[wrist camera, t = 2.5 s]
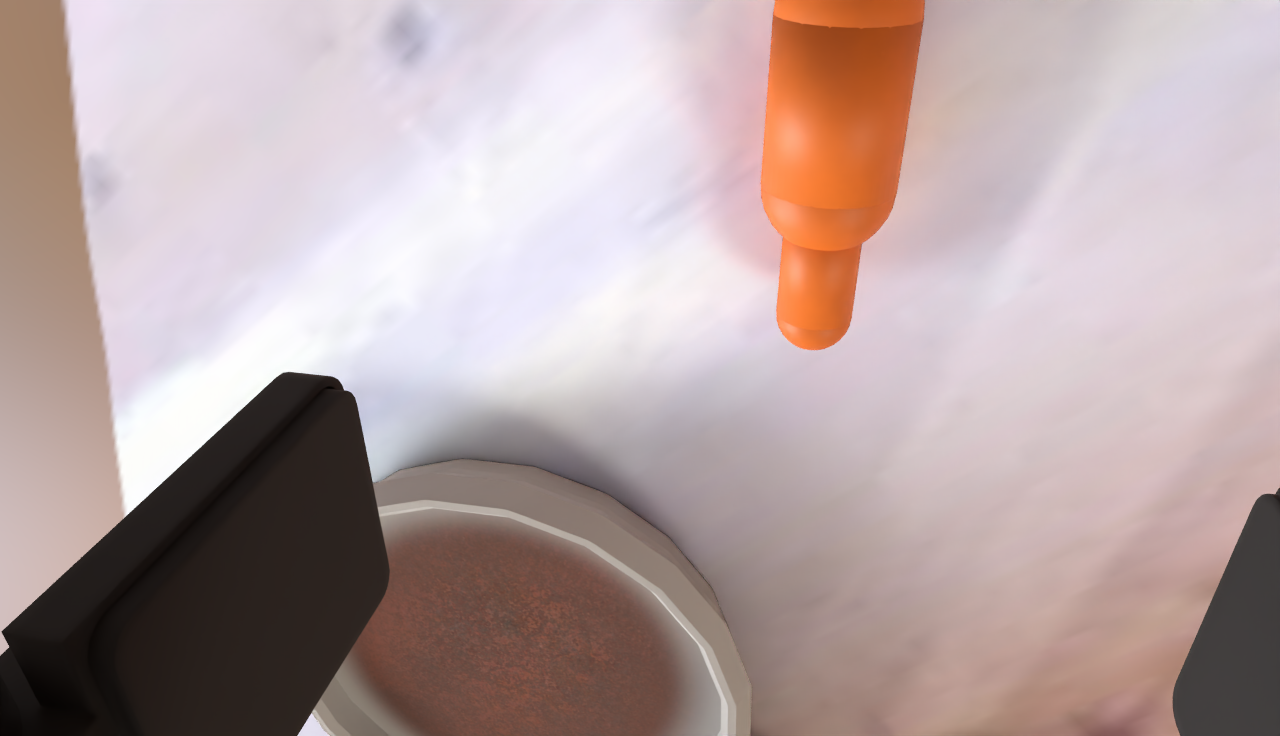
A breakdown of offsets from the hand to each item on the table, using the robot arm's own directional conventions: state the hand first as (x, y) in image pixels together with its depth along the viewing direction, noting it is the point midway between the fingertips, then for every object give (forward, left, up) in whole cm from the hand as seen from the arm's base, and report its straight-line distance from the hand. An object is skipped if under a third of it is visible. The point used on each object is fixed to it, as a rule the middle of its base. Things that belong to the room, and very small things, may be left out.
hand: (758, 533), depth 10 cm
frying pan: (+4, +20, -14) cm, 25 cm away
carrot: (0, -1, -14) cm, 14 cm away
